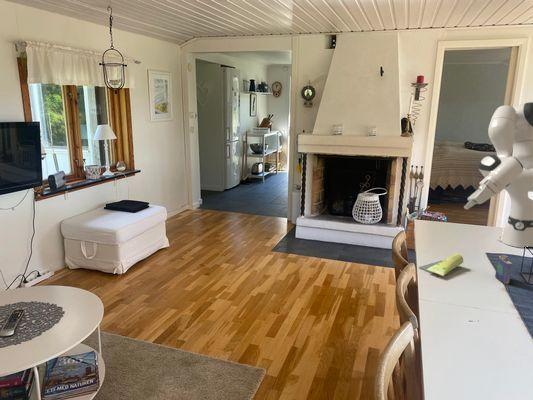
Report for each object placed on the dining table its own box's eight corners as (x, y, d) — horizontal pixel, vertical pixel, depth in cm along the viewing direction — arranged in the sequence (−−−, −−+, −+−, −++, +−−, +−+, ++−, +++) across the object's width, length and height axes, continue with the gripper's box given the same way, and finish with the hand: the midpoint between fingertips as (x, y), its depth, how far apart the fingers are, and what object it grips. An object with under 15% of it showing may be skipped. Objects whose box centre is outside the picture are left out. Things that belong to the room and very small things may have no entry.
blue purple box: (510, 284, 161) (514, 259, 158) (502, 284, 161) (506, 259, 159) (500, 275, 170) (504, 251, 167) (493, 274, 170) (496, 251, 168)
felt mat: (441, 261, 184) (441, 260, 184) (461, 268, 176) (461, 267, 176) (418, 268, 176) (418, 267, 176) (438, 276, 168) (438, 275, 168)
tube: (460, 251, 177) (436, 264, 166) (467, 261, 175) (443, 276, 164) (450, 255, 181) (426, 269, 170) (456, 266, 180) (432, 280, 169)
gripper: (479, 183, 190) (456, 203, 192) (489, 180, 170) (463, 203, 173) (489, 193, 188) (466, 213, 191) (501, 191, 169) (475, 214, 172)
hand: (465, 208), depth 182 cm, fingers closed
